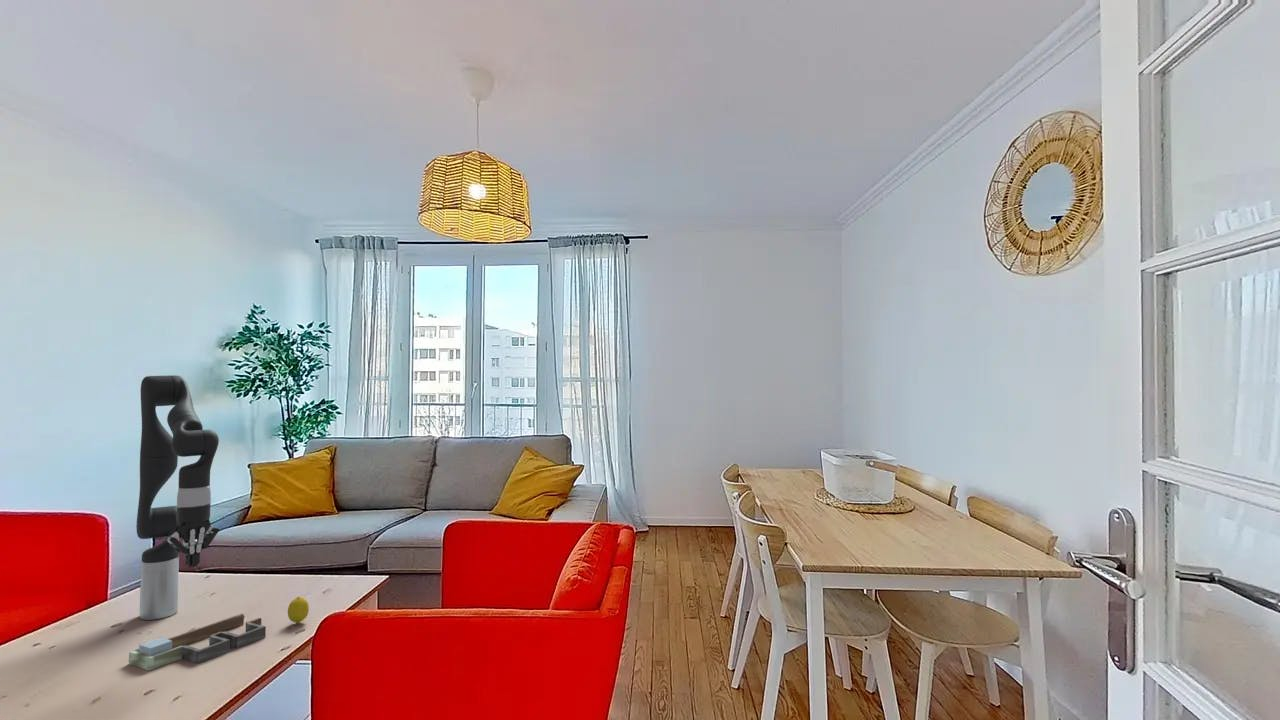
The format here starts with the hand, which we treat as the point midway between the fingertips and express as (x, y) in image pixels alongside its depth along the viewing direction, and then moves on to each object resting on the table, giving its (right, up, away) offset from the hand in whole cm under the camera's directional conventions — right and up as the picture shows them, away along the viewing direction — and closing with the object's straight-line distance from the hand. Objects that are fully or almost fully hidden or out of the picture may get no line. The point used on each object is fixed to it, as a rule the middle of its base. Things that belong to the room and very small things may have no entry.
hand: (192, 566), depth 169 cm
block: (-3, -22, -9) cm, 24 cm away
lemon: (+20, -23, +16) cm, 34 cm away
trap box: (+4, -22, 0) cm, 22 cm away
